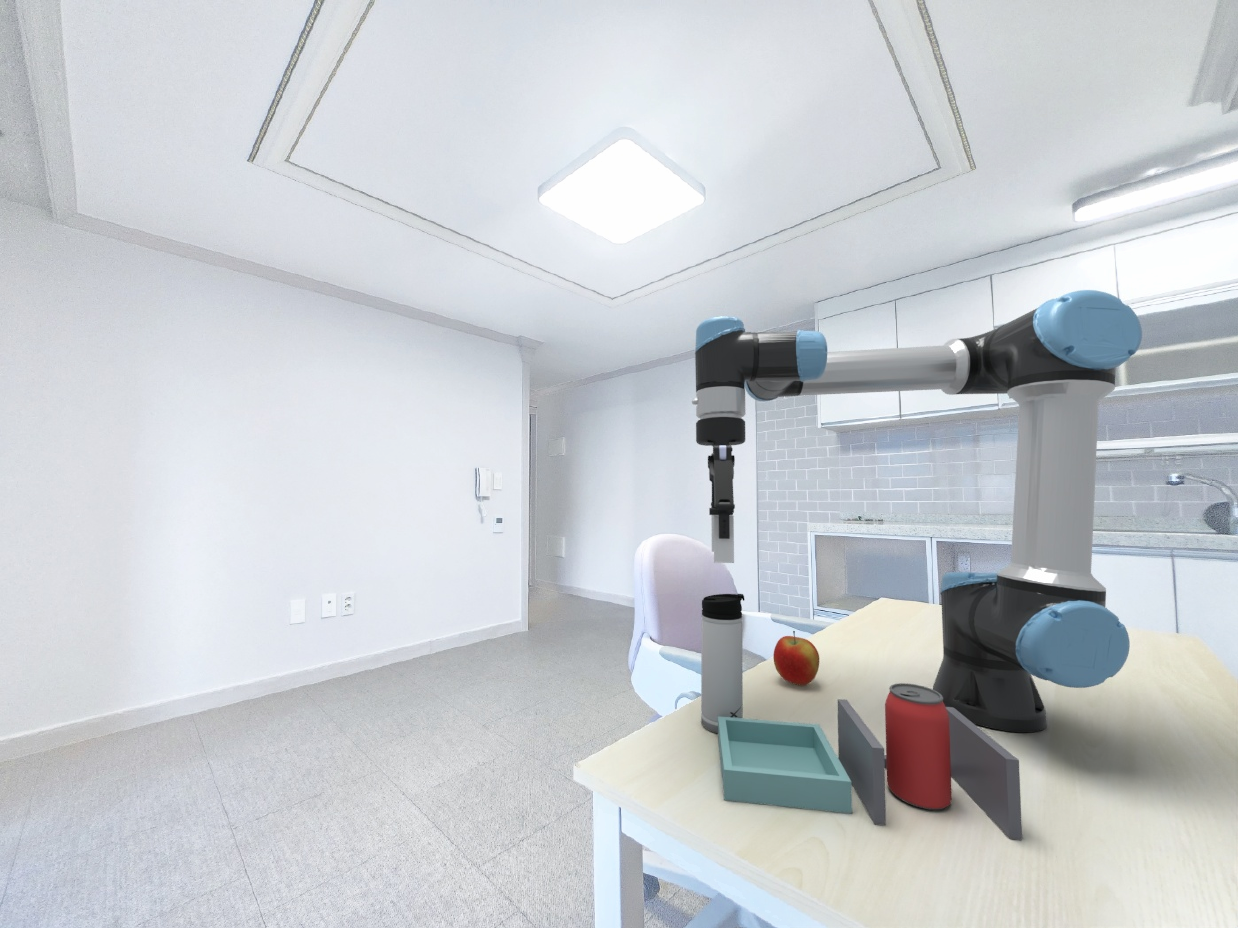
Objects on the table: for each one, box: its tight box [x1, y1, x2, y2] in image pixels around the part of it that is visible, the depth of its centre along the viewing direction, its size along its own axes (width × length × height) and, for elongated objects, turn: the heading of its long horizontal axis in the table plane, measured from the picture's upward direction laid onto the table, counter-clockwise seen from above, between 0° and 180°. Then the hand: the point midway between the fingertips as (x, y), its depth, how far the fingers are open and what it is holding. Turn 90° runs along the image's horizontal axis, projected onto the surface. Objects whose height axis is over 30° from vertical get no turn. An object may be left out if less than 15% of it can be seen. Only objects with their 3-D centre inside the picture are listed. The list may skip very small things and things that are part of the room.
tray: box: [717, 716, 853, 814], centre depth 62 cm, size 14×14×3 cm
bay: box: [837, 698, 1023, 841], centre depth 58 cm, size 14×13×8 cm
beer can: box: [884, 682, 953, 811], centre depth 58 cm, size 7×7×12 cm
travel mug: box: [700, 593, 745, 734], centre depth 76 cm, size 6×7×20 cm
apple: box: [772, 630, 820, 687], centre depth 93 cm, size 8×8×10 cm
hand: (721, 556), depth 74 cm, fingers open, 13 cm apart
